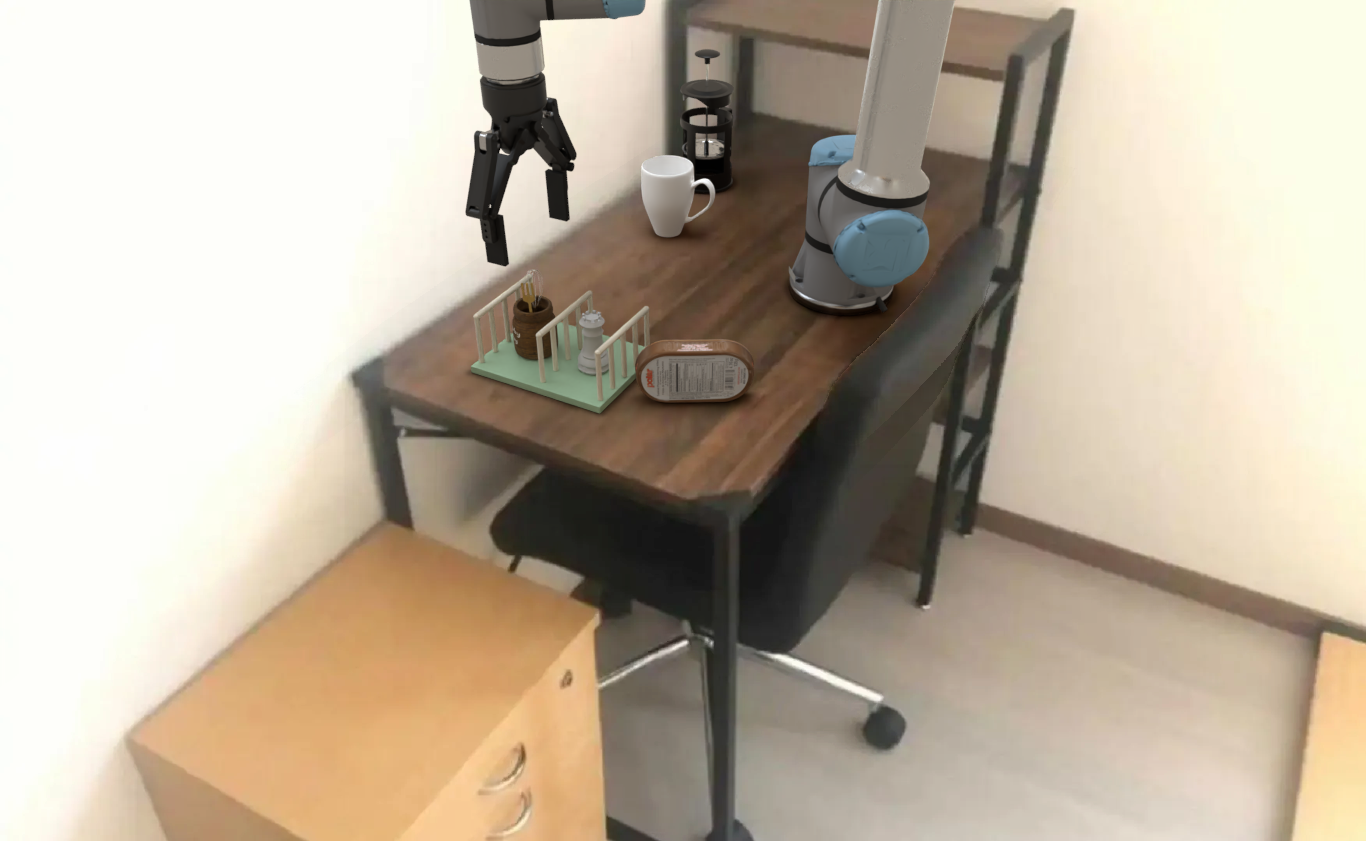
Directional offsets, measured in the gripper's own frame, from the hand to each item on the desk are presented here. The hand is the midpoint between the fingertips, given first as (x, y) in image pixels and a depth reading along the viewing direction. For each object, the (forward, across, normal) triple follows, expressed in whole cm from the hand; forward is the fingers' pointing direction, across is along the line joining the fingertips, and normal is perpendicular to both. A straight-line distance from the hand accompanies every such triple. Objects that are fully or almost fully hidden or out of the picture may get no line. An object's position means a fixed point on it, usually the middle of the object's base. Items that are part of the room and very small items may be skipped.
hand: (530, 240), depth 142 cm
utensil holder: (+16, 0, 0) cm, 17 cm away
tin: (+18, -1, +23) cm, 29 cm away
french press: (+18, -61, -6) cm, 64 cm away
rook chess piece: (+17, 0, +9) cm, 19 cm away
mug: (+18, -41, -1) cm, 44 cm away
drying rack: (+17, 0, +4) cm, 18 cm away
